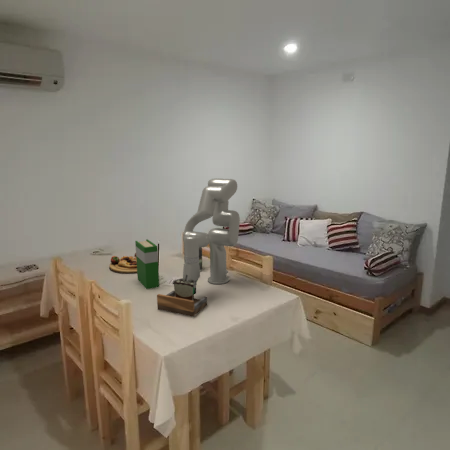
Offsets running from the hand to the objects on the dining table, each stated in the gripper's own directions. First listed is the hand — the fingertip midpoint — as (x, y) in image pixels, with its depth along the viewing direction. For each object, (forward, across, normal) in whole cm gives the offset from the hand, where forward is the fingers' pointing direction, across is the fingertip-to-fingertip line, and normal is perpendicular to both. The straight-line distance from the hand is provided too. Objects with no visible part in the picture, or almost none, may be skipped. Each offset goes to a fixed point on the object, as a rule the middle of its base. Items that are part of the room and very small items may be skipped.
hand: (192, 293), depth 187 cm
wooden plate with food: (+4, -32, -64) cm, 72 cm away
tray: (+3, +10, 0) cm, 11 cm away
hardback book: (+4, -10, -36) cm, 38 cm away
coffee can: (+4, -42, -23) cm, 48 cm away
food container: (+1, +6, 0) cm, 6 cm away
